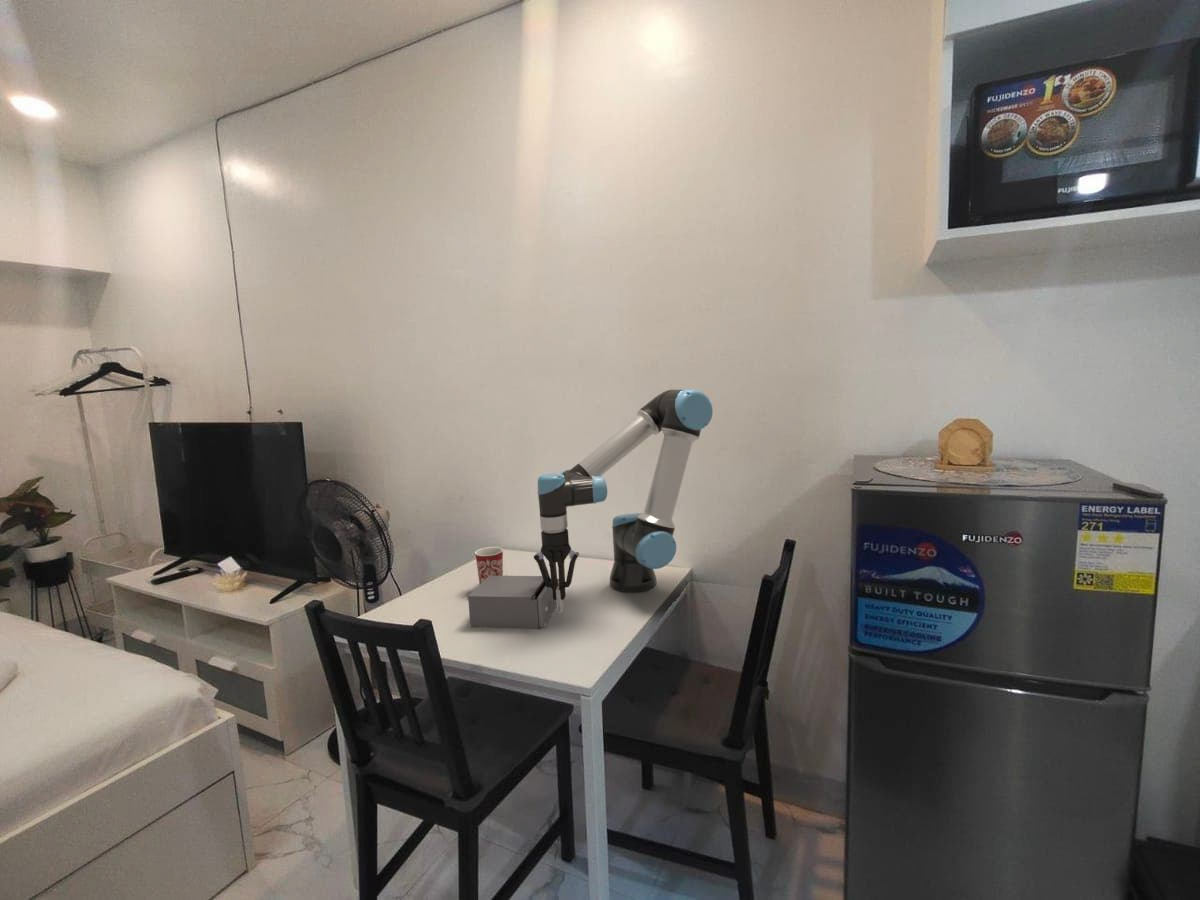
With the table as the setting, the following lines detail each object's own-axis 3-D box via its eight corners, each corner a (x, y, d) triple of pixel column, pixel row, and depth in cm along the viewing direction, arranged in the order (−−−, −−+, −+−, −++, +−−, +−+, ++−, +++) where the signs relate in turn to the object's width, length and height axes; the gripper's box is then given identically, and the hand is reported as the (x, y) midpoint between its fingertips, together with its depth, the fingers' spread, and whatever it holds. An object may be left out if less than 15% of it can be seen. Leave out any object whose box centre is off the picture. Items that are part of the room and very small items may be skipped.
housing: (552, 604, 160) (551, 576, 159) (538, 629, 145) (536, 597, 144) (491, 603, 164) (488, 575, 163) (470, 627, 148) (468, 596, 147)
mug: (505, 594, 170) (502, 553, 169) (476, 597, 169) (473, 556, 168) (507, 580, 183) (504, 542, 181) (480, 583, 182) (477, 544, 180)
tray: (558, 604, 160) (557, 577, 159) (545, 627, 145) (543, 597, 144) (494, 603, 163) (492, 577, 162) (475, 625, 148) (472, 596, 147)
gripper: (579, 525, 152) (584, 604, 154) (536, 526, 154) (542, 604, 156) (573, 532, 144) (579, 616, 147) (528, 533, 146) (535, 615, 149)
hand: (560, 610), depth 152 cm, fingers closed
